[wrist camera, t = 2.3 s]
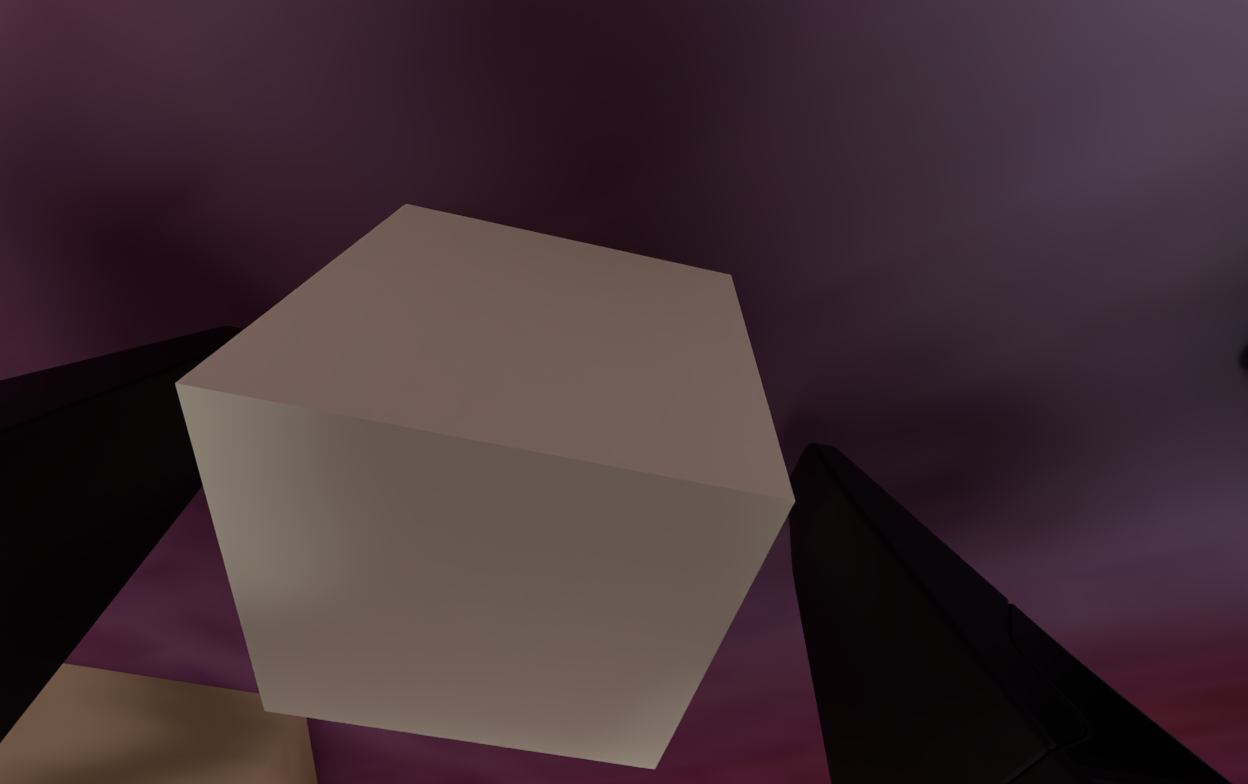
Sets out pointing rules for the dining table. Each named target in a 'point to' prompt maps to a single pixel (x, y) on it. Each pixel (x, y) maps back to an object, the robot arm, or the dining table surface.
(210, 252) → the dining table surface
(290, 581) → the cube
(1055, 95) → the dining table surface
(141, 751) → the base block
